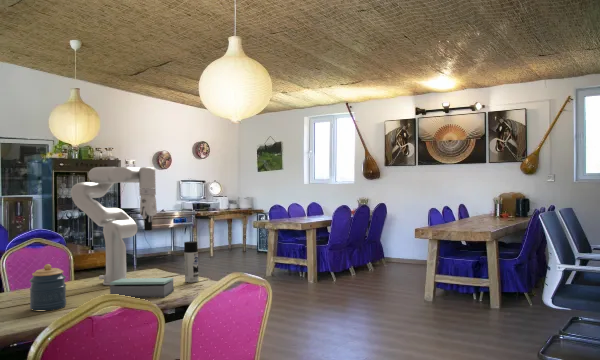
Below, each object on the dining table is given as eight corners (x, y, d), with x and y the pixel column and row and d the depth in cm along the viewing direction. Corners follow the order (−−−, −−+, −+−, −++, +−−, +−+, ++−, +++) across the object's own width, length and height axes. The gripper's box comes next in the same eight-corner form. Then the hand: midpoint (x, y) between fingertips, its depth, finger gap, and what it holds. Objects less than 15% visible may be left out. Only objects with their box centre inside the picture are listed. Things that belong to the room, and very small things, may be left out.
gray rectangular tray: (110, 298, 204) (110, 286, 204) (122, 291, 215) (122, 280, 216) (164, 297, 202) (164, 285, 202) (173, 291, 214) (173, 280, 214)
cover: (110, 284, 204) (110, 282, 204) (122, 280, 216) (122, 278, 216) (164, 284, 202) (164, 281, 202) (173, 280, 214) (173, 277, 214)
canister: (27, 313, 180) (27, 267, 180) (32, 306, 192) (31, 263, 192) (65, 309, 185) (64, 264, 186) (67, 302, 197) (66, 260, 197)
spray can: (195, 283, 232) (194, 242, 232) (182, 282, 233) (181, 242, 234) (200, 280, 239) (199, 241, 239) (188, 280, 240) (187, 241, 240)
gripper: (149, 192, 220) (150, 231, 220) (160, 192, 235) (161, 228, 235) (133, 192, 220) (134, 231, 220) (146, 192, 235) (146, 229, 235)
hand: (148, 230), depth 227 cm, fingers closed
